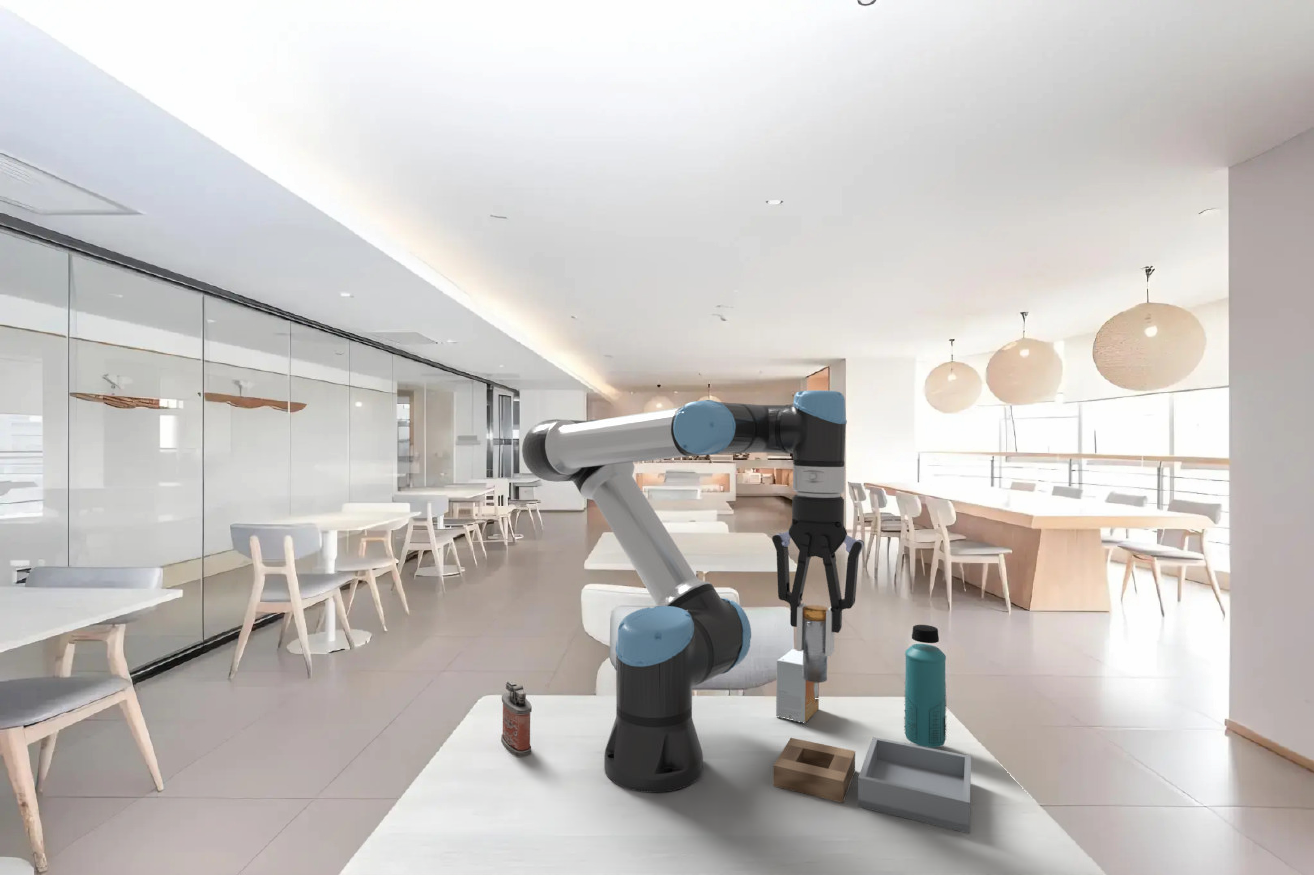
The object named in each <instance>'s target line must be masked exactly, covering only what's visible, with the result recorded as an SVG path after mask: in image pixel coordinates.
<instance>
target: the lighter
mask: <svg viewBox="0 0 1314 875" xmlns="http://www.w3.org/2000/svg"><path fill="white" fill-rule="evenodd" d="M505 689H506V690H507V691H508V692H506V693H502V694H501V702H502V734H501V735H500V737H501V739H500V741H501V743H502V746H503V747H504V748H505V749H506V751H508V752H509V753H510V754H511V755H513V756H515V757H516V758H525V757H529V756H530V755H531V754H532V746H531V713H532V709H533V708H532V704H531V702H530V701H529V700H528V699H527V698H526V697H527V692H526V691H525V690H524V687H523V685H522V684H519V685H518V684H517V683H515V682H514V681H513V680H512V679H511V680H506V682H505Z"/></svg>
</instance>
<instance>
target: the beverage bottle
mask: <svg viewBox="0 0 1314 875" xmlns="http://www.w3.org/2000/svg"><path fill="white" fill-rule="evenodd" d="M911 633H912V634H911V639H912V640H913V641H915V642H918V643H914V644H912V645H911V646H909V647H908V648H906V650H905V651H904V656H905V672H904V673H905V678H904V680H905V681H904V691H903V692H904V701H903V704H904V709H903V711H904V716H903V719H904V722H903V728H904V729H903V731H904V734H905V737H906V739H907V740H908V741H909V742H911V744H913V745H917V746H922V747H927V748H939V747H942V746H944V745H945V742H946V740H947V738H948V737H947V731H948V730H947V711H948V710H947V701H948V700H947V687H948V686H947V682H946V660H947V656H946V654H945V653H944V652H943V651H942V649H940V648H939V647H937V646H935V645H932V644H937V643H939V641H940V640H939V638H940V637H939V630H938V628H937V627H935V626H933V625H928V624H915V625H914V626H912V632H911Z"/></svg>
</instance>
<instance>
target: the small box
mask: <svg viewBox="0 0 1314 875" xmlns="http://www.w3.org/2000/svg"><path fill="white" fill-rule="evenodd" d="M802 674H803V650H802V651H796V649H795V648H794V649H793V648H791V649H790V650H789V651H787V653H785V654H784V655H783V656H782V657H780V658H778V659H776V680H775V681H776V695H775V696H776V698H775V699H776V700H775V702H776V703H775V706H776V708H775V710H776V711H775V714H776V715H775V716H779V717H785V718H789V719H793V720H795V721H794V722H796V721H800V722H804V723H803V724H806V723H807V722H808V720H810V718H812V717H813V716H814V715H815V713H817V712H818V711H819V708H820V707H819V705H820V704H819V703H820V694H819V693H820V687H819V686H820V683H816V682H810V681H806V680H804V679H803V677H802ZM815 698H819V699H815ZM817 710H818V711H817ZM779 717H778V718H779ZM806 721H807V722H806ZM800 722H799V723H800ZM805 722H806V723H805Z"/></svg>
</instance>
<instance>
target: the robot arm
mask: <svg viewBox="0 0 1314 875" xmlns="http://www.w3.org/2000/svg"><path fill="white" fill-rule="evenodd" d="M847 422H848V421H847V417H846V399H845V396H844V394H842V392H840V391H838V390H837V391H836V390H818V389H817V390H801V391H797V392H796V393H795V394H794V398H793V402H792V403H790V404H784V405H783V404H781V405H779V404H778V405H777V404H753V403H752V404H751V403H739V402H738V403H736V402H733V403H732V402H723V401H716V400H711V399H705V400H704V399H703V400H696V401H690V402H688V403H686V404H685V405H683V406H678V407H673V408H665V409H659V410H653V411H647V412H642V413H641V412H639V413H635V414H627V415H622V416H616V417H610V418H603V419H590V420H579V419H578V420H575V419H574V420H572V419H557V418H556V419H554V418H553V419H548V420H547V419H546V420H544V421H541V422H538V423H537V424H535V425H533V426H532V427H531V428H530V429H529V430H528V432H526V434H525V437H524V438H523V442H522V448H521V453H522V459H523V462H524V464H525V466H526V467H527V468H528V471H529V472H531V473H532V474H533V475H534V476H536V478H539V479H541V480H544V481H547V482H554V483H555V482H557V483H558V482H573V484H574V485H575V487H576V488H577V490H578V492H579V494H580V495H581V497H582V498H584V499H585V500H586V499H587V500H592V501H593V502H594V503H595V505H596V506H597V508H598V509H599V511H600V513H601V515H602V517H603V518H604V520H605V521H606V523H607V525H608V526H609V528H610V529H611V531H612V533H613V535H614V536H615V538H616V540H617V541H618V543H619V545H620V547H621V548H622V549H623V551H624V553H625V555H626V556H627V558H628V560H629V561H630V563H631V565H632V567H633V568H634V569H635V571H636V573H637V575H638V577H639V578H640V580H641V581H642V582H641V583H643V585H644V586H645V589H646V590H647V591H648V593H649V595H650V597H651V598H652V600H653V602H654V603H655V605H656V606H654V607H648V606H647V607H644V608H640V609H637V610H636V611H633V612H631V613H629V614H627V615H626V616H625V617H624V618H622V620H621V622H620V623H619V625H618V628H617V639H616V642H615V654H616V657H615V658H616V660H615V661H616V667H615V668H616V670H615V672H616V678H615V679H616V683H615V684H616V685H615V686H616V688H615V689H616V691H615V692H616V698H615V699H616V705H615V706H616V712H615V714H616V715H615V720H614V723H613V725H612V728H611V731H610V734H609V738H608V740H607V743H606V747H605V749H604V758H603V759H604V764H603V766H604V767H603V769H604V772H605V774H606V776H607V777H608V778H609V779H610V780H611V781H612V782H614V783H615V784H617V785H619V786H621V787H623V788H626V789H629V790H632V791H637V792H643V793H644V792H645V793H663V792H664V793H665V792H672V791H676V790H680V789H684V788H685V787H688V786H689V785H692V784H693V783H695V782H696V781H697V780H698V779H699V778H700V777H701V775H702V773H703V770H704V766H703V765H704V754H703V749H702V747H701V743H700V740H699V736H698V733H697V730H696V727H695V722H694V721H693V688H694V687H695V686H697V685H700V684H703V683H704V682H706V681H708V680H711V679H713V678H715V677H717V676H719V675H722V674H726V673H728V672H729V671H731V670H732V669H733V668H735V667H736V666H738V665H739V664H741V662H742V661H743V660H744V659H745V658H746V657H747V655H748V653H749V651H750V648H751V639H752V628H751V623H750V620H749V618H748V615H747V613H746V612H745V610H744V609H743V608H742V606H741V605H739V603H738V602H735V601H734V600H730V599H728V598H725V597H721V596H720V595H719V594H718V592H717V590H716V589H715V588H714V586H713V584H712V583H711V581H710V582H709V581H706V580H701V579H698V577H697V575H696V573H695V572H694V571H693V569H692V567H691V566H690V564H689V563H688V561H687V560H686V558H685V557H684V555H683V554H682V551H680V549H679V547H678V545H677V544H676V543H675V541H674V539H673V538H672V536H671V535H670V533H669V532H668V530H667V528H666V527H665V525H664V523H663V522H662V521H661V519H660V517H659V516H658V514H657V513H656V512H655V509H654V508H653V507H652V505H651V503H650V502H649V500H648V499H647V497H646V495H645V493H644V492H643V491H642V490H641V488H640V486H639V484H638V483H637V481H636V479H635V478H634V476H633V474H634V471H635V464H634V463H637V462H645V461H655V460H666V459H677V458H686V457H698V456H708V455H722V454H744V453H745V454H749V453H751V454H753V453H755V454H756V453H764V454H765V453H766V454H769V453H771V454H792V459H793V462H792V490H793V492H795V493H796V494H794V495H793V496H792V499H791V500H792V503H791V504H792V507H791V508H792V510H791V525H790V526H789V528H788V531H785V532H779V533H775V534H774V535H773V536H772V538H771V540H772V543H773V546H774V548H775V550H776V569H777V572H776V573H777V595H778V597H777V598H778V599H779V600H780V601H784V602H786V603H788V605H789V607H790V622H789V623H790V626H791V627H794V628H796V644H795V645H796V646H795V647H796V649H795V650H796V651H803V620H804V606H807V603H803V602H802V601H803V594H804V590H805V584H806V580H807V577H808V576H807V575H808V569H809V565H810V561H811V559H812V557H813V558H814V557H818V558H820V559H822V563H823V566H824V570H825V577H826V583H827V589H828V595H829V596H828V597H829V602H830V606H829V607H827V608H828V610H827V611H826V646H825V655H826V656H828V657H832V655H833V653H834V652H835V633H836V634H837V633H838V634H839V633H840V632H841V629H842V627H843V625H842V624H843V610H846V609H852V608H853V606H854V605H855V603H856V596H857V593H856V592H857V583H858V582H857V581H858V574H859V573H858V572H859V571H858V570H859V559H860V555H861V552H862V550H863V548H864V546H865V543H864V541H863V539H856V538H854V537H852V536H849V535H848V531H847V529H846V528H845V522H844V521H845V518H844V517H845V499H844V498H843V496H841V494H843V493H844V492H845V485H846V484H845V481H846V480H845V478H846V477H845V474H846V473H845V471H846V470H845V469H846V466H845V457H846V456H845V452H846V428H847ZM791 540H792V542H793V543H794V545H795V546H796V548H797V549H798V556H797V565H796V570H795V574H794V580H793V584H792V590H791V583H790V578H791V577H790V558H789V548H788V547H789V546H790V544H791ZM843 543H845V550H846V552H847V553H848V556H847V560H846V561H847V562H846V573H845V587H844V598H843V597H842V591H841V586H840V578H839V573H838V567H837V558H836V552H837V551H838V550H839V549H840V547H841V546H842V545H843Z"/></svg>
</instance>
